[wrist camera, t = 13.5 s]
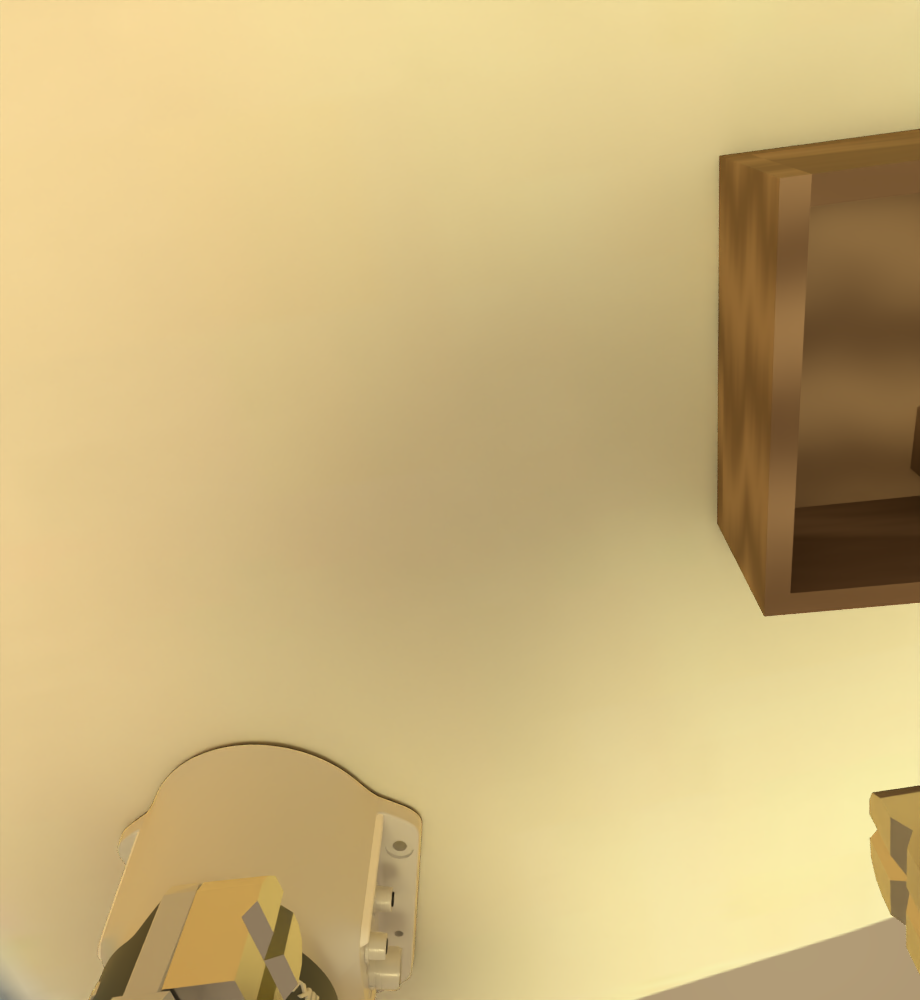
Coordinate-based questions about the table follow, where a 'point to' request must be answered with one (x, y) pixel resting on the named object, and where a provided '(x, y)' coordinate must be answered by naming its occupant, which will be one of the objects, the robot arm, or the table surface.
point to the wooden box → (821, 372)
